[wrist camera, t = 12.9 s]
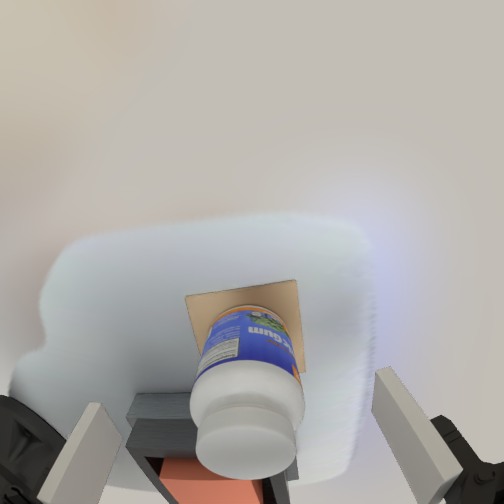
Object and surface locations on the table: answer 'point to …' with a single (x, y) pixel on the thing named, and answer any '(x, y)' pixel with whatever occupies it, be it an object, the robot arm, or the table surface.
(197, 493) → the orange block
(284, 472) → the grey square tray
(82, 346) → the table surface
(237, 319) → the pill bottle
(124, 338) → the table surface
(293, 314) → the coaster
